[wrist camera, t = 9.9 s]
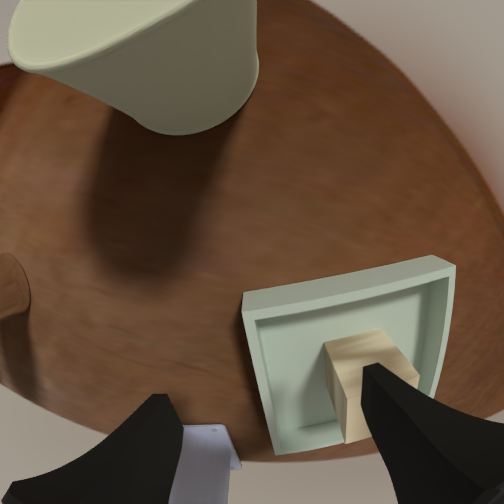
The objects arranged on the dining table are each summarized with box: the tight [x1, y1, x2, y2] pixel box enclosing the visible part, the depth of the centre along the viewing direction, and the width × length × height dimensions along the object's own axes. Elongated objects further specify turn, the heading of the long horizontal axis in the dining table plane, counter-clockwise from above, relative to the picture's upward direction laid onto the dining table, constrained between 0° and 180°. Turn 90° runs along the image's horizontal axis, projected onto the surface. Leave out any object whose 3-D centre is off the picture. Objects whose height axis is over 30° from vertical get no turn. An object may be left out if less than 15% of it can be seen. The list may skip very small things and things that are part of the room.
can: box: [7, 0, 259, 135], centre depth 9 cm, size 9×9×12 cm
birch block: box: [324, 328, 420, 444], centre depth 15 cm, size 4×4×6 cm
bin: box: [242, 255, 456, 455], centre depth 18 cm, size 14×14×3 cm
